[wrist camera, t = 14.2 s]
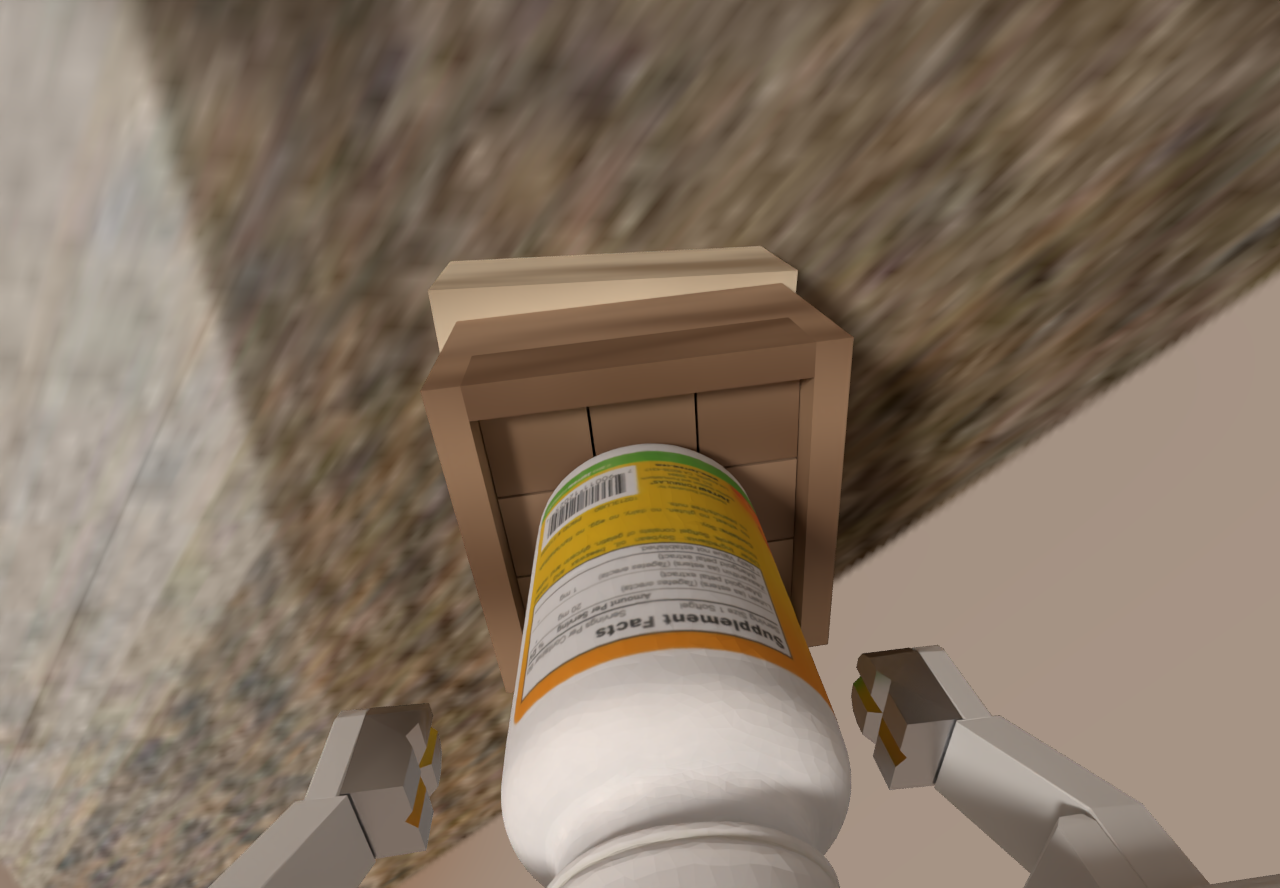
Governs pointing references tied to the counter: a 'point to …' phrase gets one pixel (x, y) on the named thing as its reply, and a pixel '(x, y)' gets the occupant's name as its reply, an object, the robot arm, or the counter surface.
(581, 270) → the tower base
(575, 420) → the tower top
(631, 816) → the supplement bottle
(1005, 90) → the counter surface
